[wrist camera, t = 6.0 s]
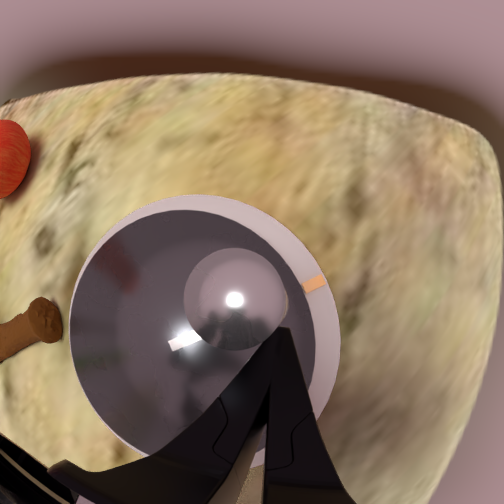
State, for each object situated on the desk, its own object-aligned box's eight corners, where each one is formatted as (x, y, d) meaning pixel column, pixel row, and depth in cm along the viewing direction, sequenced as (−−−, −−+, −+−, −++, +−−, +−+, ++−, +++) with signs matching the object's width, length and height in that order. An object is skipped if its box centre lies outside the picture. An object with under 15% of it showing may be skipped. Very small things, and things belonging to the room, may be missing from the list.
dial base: (380, 409, 15) (386, 416, 13) (139, 482, 16) (131, 489, 14) (259, 155, 19) (257, 146, 18) (54, 269, 20) (43, 266, 18)
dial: (322, 221, 16) (349, 126, 7) (296, 473, 13) (292, 583, 5) (95, 215, 18) (-2, 162, 9) (81, 421, 16) (-13, 456, 7)
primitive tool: (-19, 378, 20) (-41, 379, 16) (-30, 333, 21) (-51, 332, 18) (72, 340, 19) (41, 341, 15) (57, 275, 20) (27, 268, 17)
